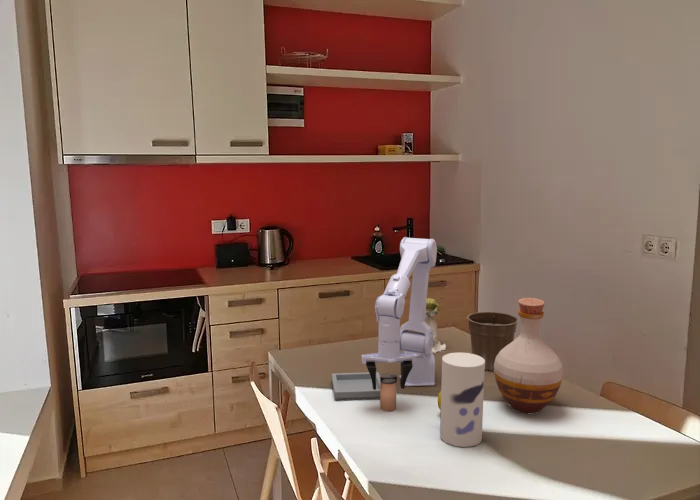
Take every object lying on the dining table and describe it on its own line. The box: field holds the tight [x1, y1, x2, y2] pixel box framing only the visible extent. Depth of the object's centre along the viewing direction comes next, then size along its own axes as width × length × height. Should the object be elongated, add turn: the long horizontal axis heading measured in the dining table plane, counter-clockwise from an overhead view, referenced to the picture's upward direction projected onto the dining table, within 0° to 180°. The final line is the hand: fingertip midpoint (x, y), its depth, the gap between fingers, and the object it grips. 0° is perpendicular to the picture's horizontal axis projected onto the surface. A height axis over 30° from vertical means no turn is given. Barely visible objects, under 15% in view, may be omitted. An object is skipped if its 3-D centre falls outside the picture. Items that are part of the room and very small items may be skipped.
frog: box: [415, 297, 447, 355], centre depth 202 cm, size 12×13×18 cm
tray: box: [331, 371, 381, 402], centre depth 166 cm, size 14×14×2 cm
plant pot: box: [466, 311, 519, 372], centre depth 186 cm, size 16×16×16 cm
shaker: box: [379, 372, 398, 412], centre depth 153 cm, size 5×5×9 cm
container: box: [439, 352, 486, 448], centre depth 136 cm, size 10×10×20 cm
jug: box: [493, 297, 564, 414], centre depth 153 cm, size 20×18×30 cm
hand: (388, 387), depth 153 cm, fingers open, 7 cm apart
